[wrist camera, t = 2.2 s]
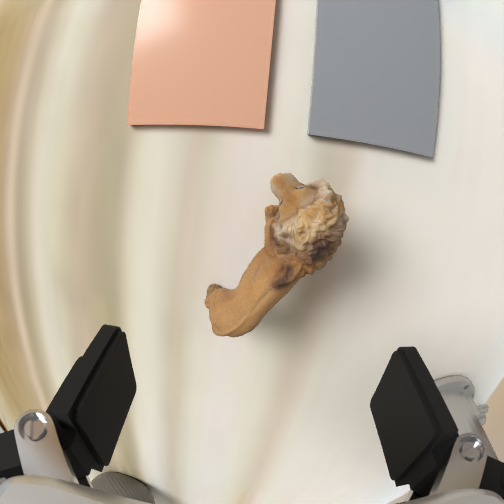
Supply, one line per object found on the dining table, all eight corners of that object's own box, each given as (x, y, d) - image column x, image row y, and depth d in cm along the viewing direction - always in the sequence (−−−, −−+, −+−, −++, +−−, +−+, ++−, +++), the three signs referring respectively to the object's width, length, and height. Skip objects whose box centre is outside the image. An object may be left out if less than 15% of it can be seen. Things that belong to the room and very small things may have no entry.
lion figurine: (277, 149, 21) (285, 162, 13) (341, 184, 22) (383, 219, 14) (196, 307, 27) (170, 381, 18) (251, 332, 27) (245, 409, 19)
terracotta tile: (280, -49, 15) (280, -56, 14) (263, 129, 21) (263, 129, 20) (158, -46, 15) (153, -52, 14) (133, 124, 21) (127, 125, 20)
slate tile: (430, -13, 15) (436, -17, 14) (425, 155, 21) (432, 157, 20) (317, -45, 15) (319, -51, 14) (306, 134, 21) (308, 134, 20)
